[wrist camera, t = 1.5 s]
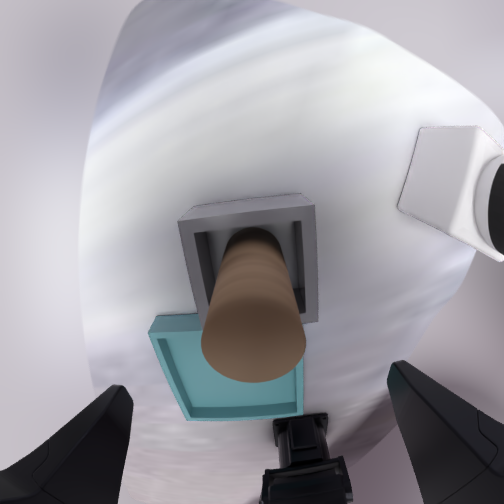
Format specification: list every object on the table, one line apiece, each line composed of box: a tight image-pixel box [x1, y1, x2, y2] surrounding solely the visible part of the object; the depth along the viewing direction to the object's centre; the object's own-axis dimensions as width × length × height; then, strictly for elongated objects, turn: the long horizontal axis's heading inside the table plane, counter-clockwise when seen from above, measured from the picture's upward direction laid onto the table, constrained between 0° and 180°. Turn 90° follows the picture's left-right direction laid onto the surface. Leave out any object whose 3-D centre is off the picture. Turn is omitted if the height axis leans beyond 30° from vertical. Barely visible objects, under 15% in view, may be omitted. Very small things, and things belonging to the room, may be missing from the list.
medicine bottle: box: [398, 126, 504, 262], centre depth 13 cm, size 7×7×12 cm
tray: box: [148, 314, 303, 421], centre depth 23 cm, size 12×12×2 cm
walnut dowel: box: [201, 227, 306, 383], centre depth 15 cm, size 4×4×10 cm
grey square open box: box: [178, 193, 318, 331], centre depth 18 cm, size 8×8×4 cm
